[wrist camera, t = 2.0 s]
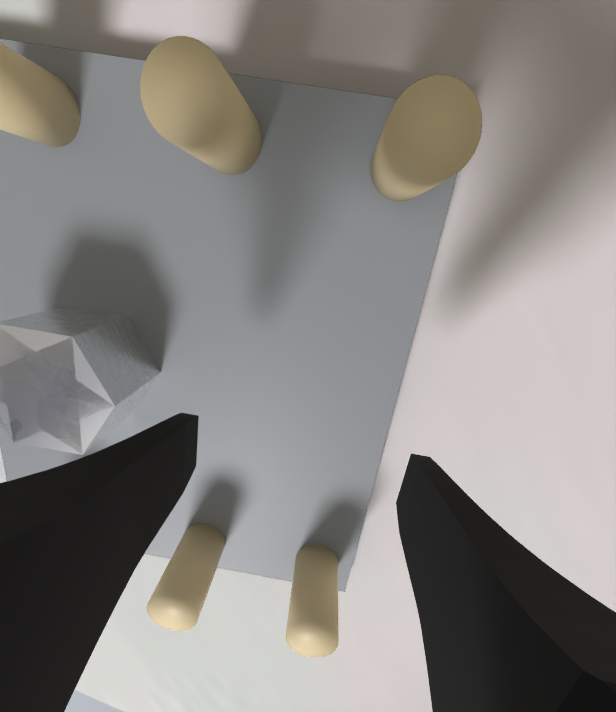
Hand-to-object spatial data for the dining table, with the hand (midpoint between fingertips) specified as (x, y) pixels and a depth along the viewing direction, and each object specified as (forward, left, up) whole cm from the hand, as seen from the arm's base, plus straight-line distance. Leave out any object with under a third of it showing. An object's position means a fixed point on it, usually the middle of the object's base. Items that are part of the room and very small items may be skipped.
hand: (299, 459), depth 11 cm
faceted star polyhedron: (-10, 0, -5) cm, 11 cm away
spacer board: (-6, 0, -6) cm, 8 cm away
